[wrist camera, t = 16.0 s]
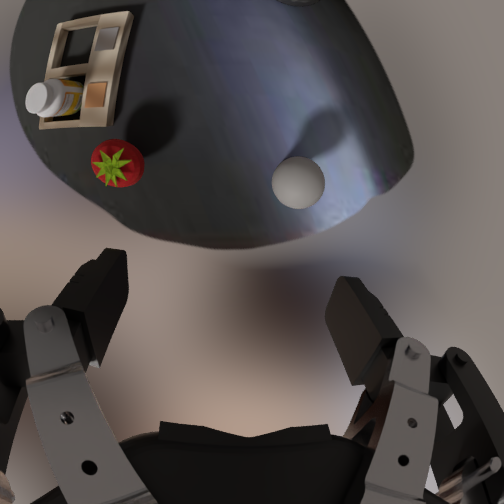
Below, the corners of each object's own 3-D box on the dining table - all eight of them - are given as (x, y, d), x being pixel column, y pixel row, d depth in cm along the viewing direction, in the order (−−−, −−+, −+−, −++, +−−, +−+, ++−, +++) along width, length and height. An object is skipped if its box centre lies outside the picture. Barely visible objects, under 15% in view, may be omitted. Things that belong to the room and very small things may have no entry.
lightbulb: (282, 140, 36) (303, 148, 26) (314, 167, 38) (343, 186, 28) (254, 173, 38) (264, 193, 28) (287, 198, 40) (306, 227, 30)
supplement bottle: (56, 91, 28) (19, 90, 19) (84, 75, 28) (48, 69, 19) (62, 120, 31) (25, 126, 22) (90, 106, 30) (54, 107, 22)
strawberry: (118, 128, 33) (86, 133, 24) (162, 149, 35) (140, 159, 26) (103, 164, 35) (69, 180, 26) (144, 185, 37) (121, 206, 28)
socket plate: (65, 27, 23) (56, 23, 20) (134, 16, 25) (128, 10, 22) (47, 128, 31) (37, 129, 28) (113, 125, 32) (105, 126, 30)
